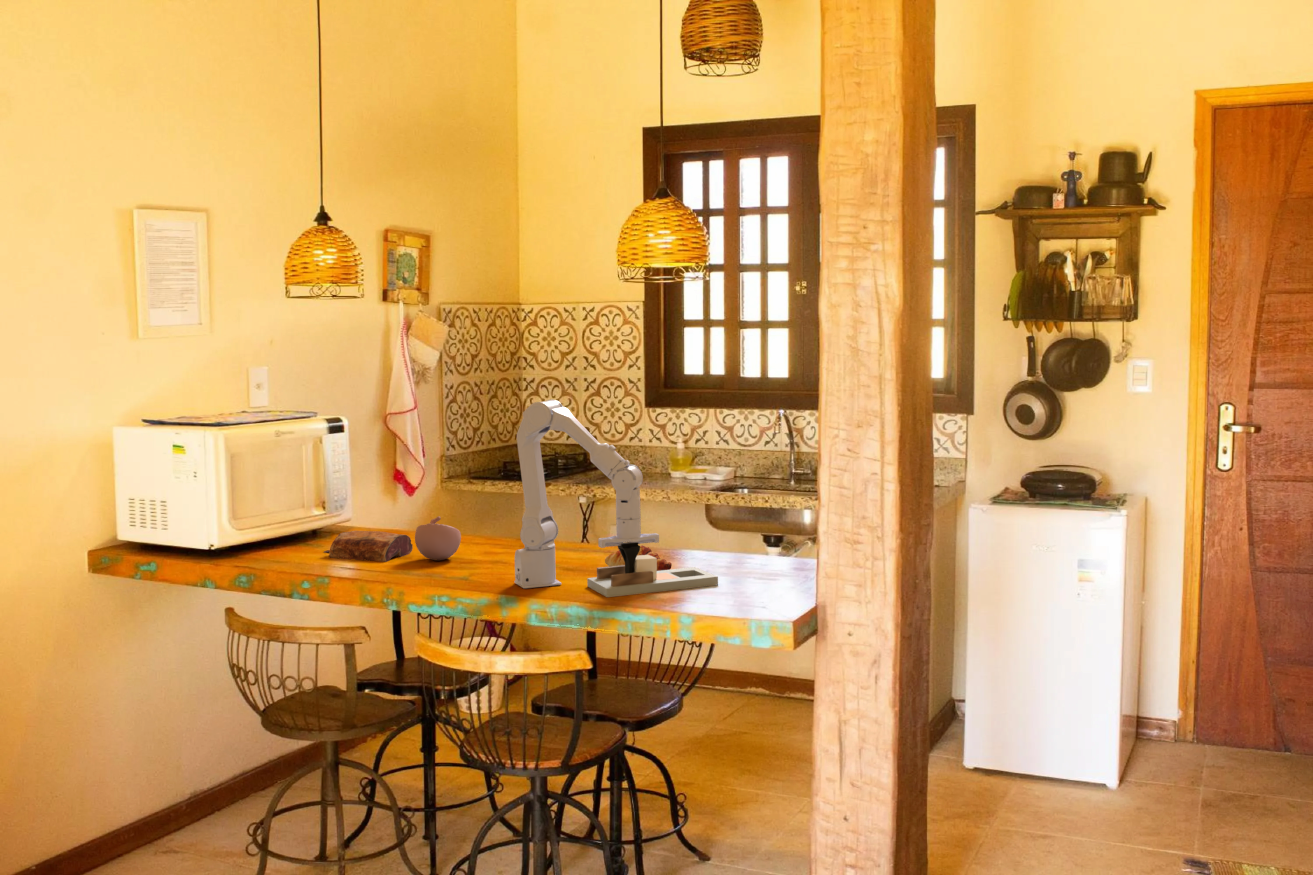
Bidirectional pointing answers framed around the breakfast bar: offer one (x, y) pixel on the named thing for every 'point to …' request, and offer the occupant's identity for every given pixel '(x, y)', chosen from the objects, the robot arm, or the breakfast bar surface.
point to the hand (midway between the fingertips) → (629, 575)
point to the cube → (646, 564)
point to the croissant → (618, 560)
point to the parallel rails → (624, 576)
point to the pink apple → (437, 540)
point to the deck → (657, 582)
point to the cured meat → (370, 546)
